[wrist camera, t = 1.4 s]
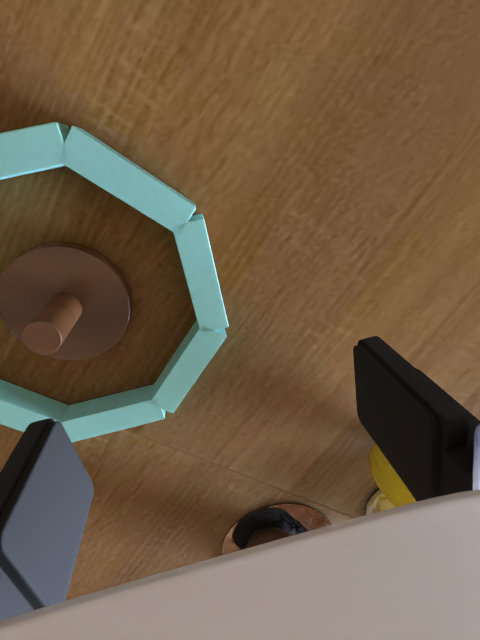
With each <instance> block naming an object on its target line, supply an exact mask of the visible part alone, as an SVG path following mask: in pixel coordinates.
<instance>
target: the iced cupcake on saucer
mask: <svg viewBox="0 0 480 640" xmlns="http://www.w3.org/2000/svg"><path fill="white" fill-rule="evenodd" d="M329 525H331V523H330V522H329V520H328V519H327V518H326V517H325V516H324V515H323V514H322V513H320V512H319V511H316V509H314V508H309V507H308V506H306V505H304V506H302V505H298V504H297V505H296V504H290V503H289V504H279V505H274V506H273V505H272V506H269V507H263V508H260V509H258V510H254V511H253V512H251V513H249V514H247V515H246V516H245V517H243V518H242V519H240V520H239V521H238V522H237V523H236V524H235V525H234V526H233V527H232V528H231V529H230V531H229V532H228V534H227V535H226V537H225V540H224V542H223V546H222V555H225V554H229V553H232V552H236V551H239V550H243V549H247V548H250V547H254V546H257V545H261V544H264V543H268V542H271V541H275V540H278V539H282V538H285V537H289V536H293V535H296V534H300V533H303V532H307V531H311V530H314V529H318V528H321V527H325V526H329Z"/></svg>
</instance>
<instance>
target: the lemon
mask: <svg viewBox="0 0 480 640" xmlns="http://www.w3.org/2000/svg"><path fill="white" fill-rule="evenodd" d="M369 462H370V468H371V472H372V475H373V478H374V480H375V482H376V483H377V485H378V487H379V488H380V490H381V491H382V493H383V494H384V495H385V496H386V497H387V498H388V499H389V501H390V502H392V503H393V504H394V505H395V506H396V507H399V506H403V505H407V504H410V503H414V502H417V501H416V500H415V498H414V497H413V496H412V494H411V493H410V491H409V490H408V489H407V487H406V486H405V484H404V483H403V481H402V480H401V479H400V477H399V476H398V474H397V473H396V472H395V470H394V469H393V467H392V466H391V464H390V463H389V462H388V460H387V459H386V457H385V456H384V455H383V453H382V452H381V450H380V449H379V447H378V446H377V445H376V443H374V445H373V447H372V449H371V452H370V459H369Z"/></svg>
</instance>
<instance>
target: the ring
mask: <svg viewBox="0 0 480 640" xmlns="http://www.w3.org/2000/svg"><path fill="white" fill-rule="evenodd" d="M65 166H67V167H68V168H70V169H72V170H73V171H75V172H76V173H78V174H80V175H81V176H83V177H84V178H86V179H88V180H89V181H91V182H93V183H94V184H96V185H97V186H99V187H101V188H102V189H104V190H106V191H107V192H109V193H110V194H112V195H114V196H115V197H117V198H119V199H120V200H122V201H123V202H125V203H127V204H128V205H130V206H131V207H133V208H135V209H136V210H138V211H140V212H141V213H143V214H144V215H146V216H148V217H149V218H151V219H153V220H154V221H156V222H157V223H159V224H161V225H162V226H164V227H166V228H167V229H169V230H170V231H172V232H173V234H174V238H175V241H176V245H177V249H178V252H179V256H180V260H181V263H182V267H183V271H184V274H185V278H186V282H187V285H188V289H189V293H190V296H191V300H192V304H193V308H194V311H195V315H196V319H197V320H196V321H195V323H194V324H193V326H192V327H191V329H190V330H189V332H188V333H187V335H186V336H185V338H184V339H183V341H182V342H181V344H180V345H179V347H178V348H177V350H176V351H175V353H174V354H173V356H172V357H171V359H170V360H169V362H168V363H167V365H166V367H165V368H164V370H163V371H162V373H161V374H160V376H159V377H158V379H157V380H156V382H155V383H154V384H153V385H149V386H145V387H141V388H137V389H133V390H129V391H125V392H121V393H117V394H113V395H109V396H105V397H101V398H97V399H92V400H88V401H84V402H80V403H76V404H72V405H67V404H64V403H61V402H59V401H56V400H54V399H51V398H48V397H46V396H43V395H40V394H38V393H35V392H33V391H30V390H27V389H25V388H22V387H20V386H17V385H14V384H12V383H9V382H7V381H4V380H1V379H0V424H1V425H4V426H7V427H10V428H13V429H16V430H19V431H22V432H25V430H26V428H27V427H28V425H29V424H30V423H32V422H36V421H40V420H44V419H48V418H52V419H54V420H55V421H60V422H61V423H62V425H63V427H64V429H65V431H66V433H67V434H68V436H69V438H70V440H71V442H75V441H79V440H83V439H87V438H91V437H95V436H99V435H103V434H107V433H111V432H114V431H118V430H122V429H126V428H130V427H134V426H138V425H142V424H146V423H150V422H154V421H158V420H162V419H165V411H168V412H170V413H174V411H175V410H176V408H177V407H178V406H179V404H180V403H181V401H182V400H183V398H184V397H185V396H186V394H187V393H188V391H189V390H190V388H191V387H192V386H193V384H194V383H195V381H196V380H197V378H198V377H199V376H200V374H201V373H202V371H203V370H204V368H205V367H206V366H207V364H208V363H209V361H210V360H211V358H212V357H213V356H214V354H215V353H216V351H217V350H218V348H219V347H220V346H221V344H222V343H223V341H224V340H225V338H226V337H227V336H226V332H225V328H227V327H229V325H228V321H227V317H226V312H225V308H224V304H223V299H222V295H221V290H220V286H219V282H218V277H217V273H216V269H215V264H214V260H213V256H212V251H211V247H210V243H209V238H208V234H207V229H206V225H205V221H204V217H203V215H202V214H198V215H193V216H192V214H193V212H194V211H195V209H196V205H195V203H194V202H192V201H191V200H189V199H187V198H186V197H184V196H183V195H181V194H180V193H178V192H177V191H175V190H174V189H172V188H171V187H169V186H168V185H166V184H165V183H163V182H162V181H160V180H159V179H157V178H156V177H154V176H153V175H151V174H150V173H148V172H147V171H145V170H144V169H142V168H141V167H139V166H138V165H136V164H135V163H133V162H132V161H130V160H129V159H127V158H126V157H124V156H123V155H121V154H120V153H118V152H117V151H115V150H114V149H112V148H111V147H109V146H108V145H106V144H105V143H103V142H102V141H100V140H99V139H97V138H96V137H94V136H93V135H91V134H90V133H88V132H87V131H85V130H84V129H82V128H79V127H76V126H71V128H70V130H69V128H68V126H67V125H65V124H61V123H58V122H52V123H47V124H42V125H37V126H32V127H27V128H22V129H17V130H12V131H7V132H2V133H0V180H2V179H7V178H12V177H17V176H21V175H26V174H31V173H36V172H41V171H45V170H50V169H55V168H60V167H65Z"/></svg>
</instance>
